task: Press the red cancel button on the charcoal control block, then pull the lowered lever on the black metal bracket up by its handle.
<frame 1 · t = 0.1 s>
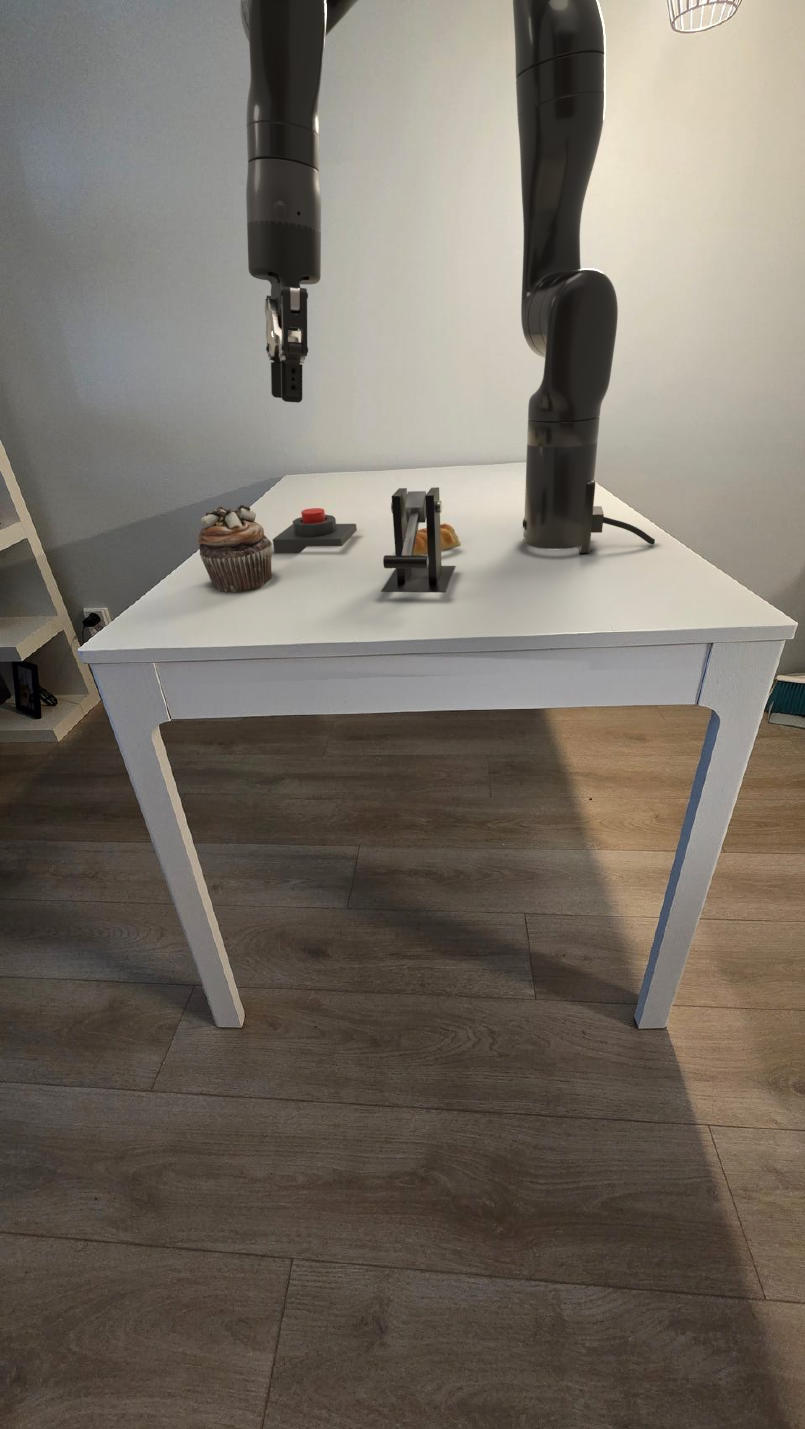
hand: (286, 399, 74), 22 cm above the table, tool pointing down, fingers open, 8 cm apart
bracket: (420, 586, 82), on the table
cancel button: (313, 516, 100), point 4 cm above the table, slide at 0.1 cm
pastry: (429, 555, 94), on the table
lever: (411, 531, 75), point 8 cm above the table, hinge at -28.0°
control block: (317, 545, 102), on the table
cupcake: (243, 584, 88), on the table
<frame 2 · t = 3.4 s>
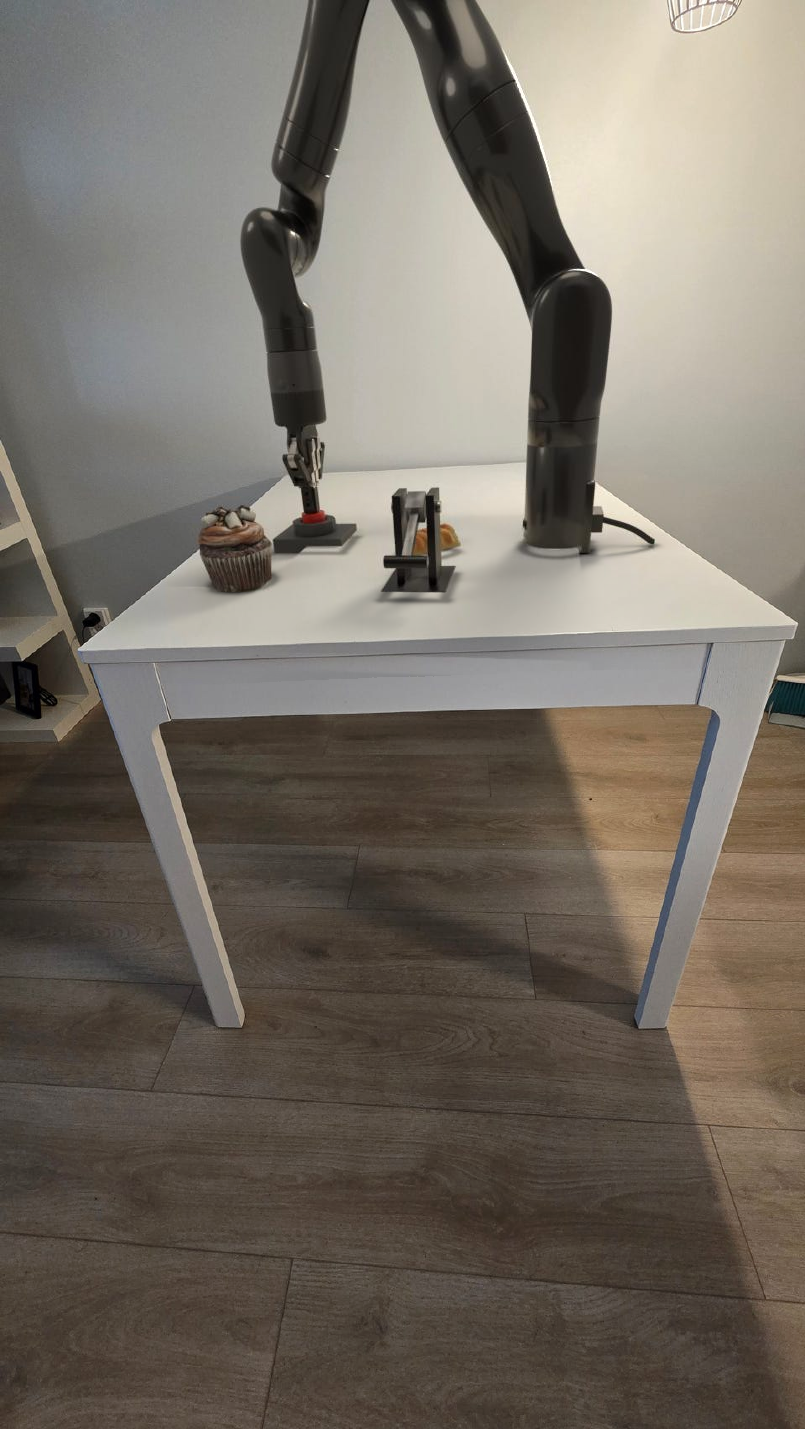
hand: (312, 512, 100), 5 cm above the table, tool pointing down, fingers closed
cancel button: (313, 518, 100), point 4 cm above the table, slide at -0.1 cm, touching gripper
everything else where it was.
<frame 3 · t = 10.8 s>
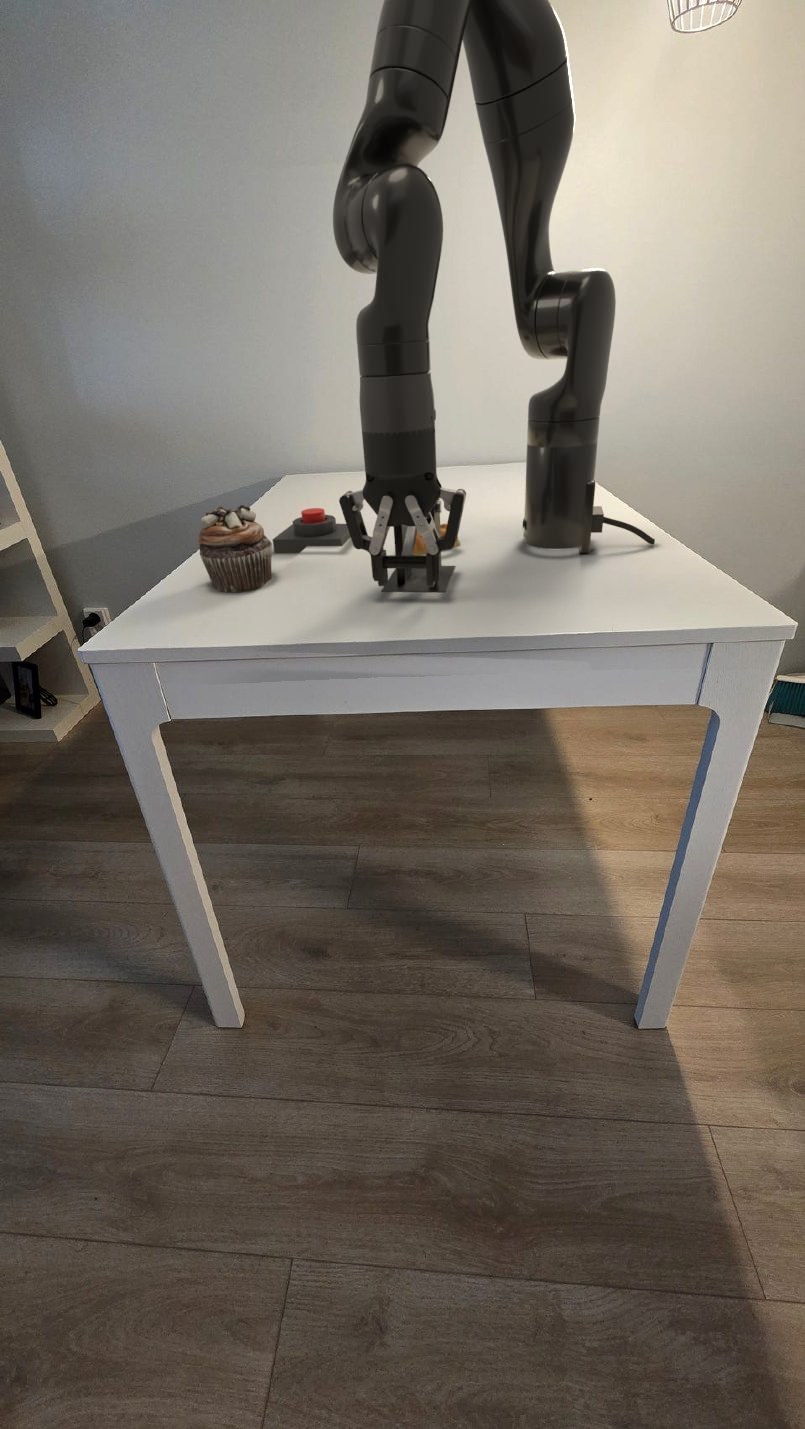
hand: (407, 583, 74), 3 cm above the table, tool pointing down, fingers closed on lever, 5 cm apart
cancel button: (313, 516, 100), point 4 cm above the table, slide at 0.1 cm
lever: (411, 531, 75), point 8 cm above the table, hinge at -28.1°, touching gripper
everything else where it was.
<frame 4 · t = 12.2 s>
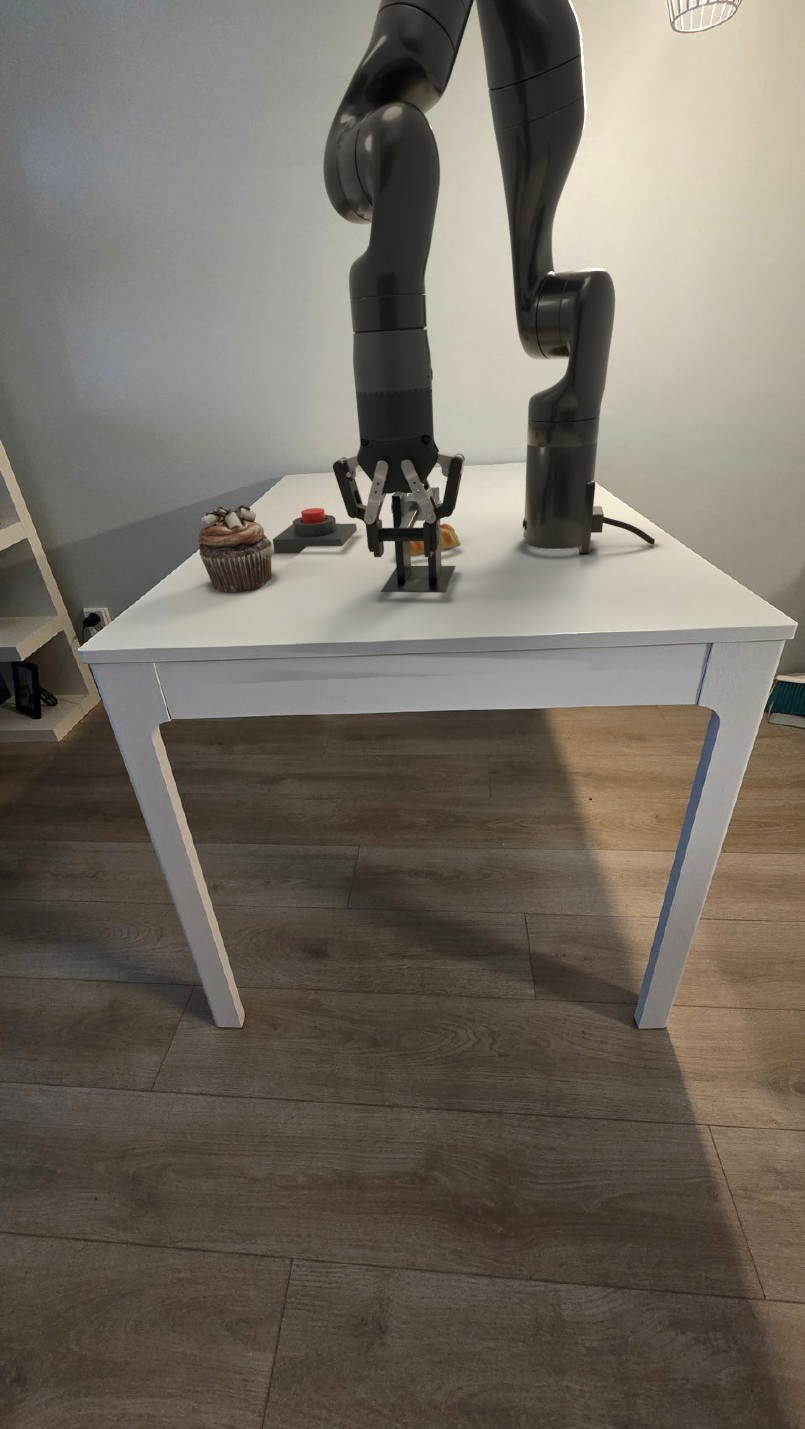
hand: (404, 554, 71), 7 cm above the table, tool pointing down, fingers closed on lever, 5 cm apart
lever: (410, 519, 74), point 10 cm above the table, hinge at -5.4°, touching gripper
everything else where it was.
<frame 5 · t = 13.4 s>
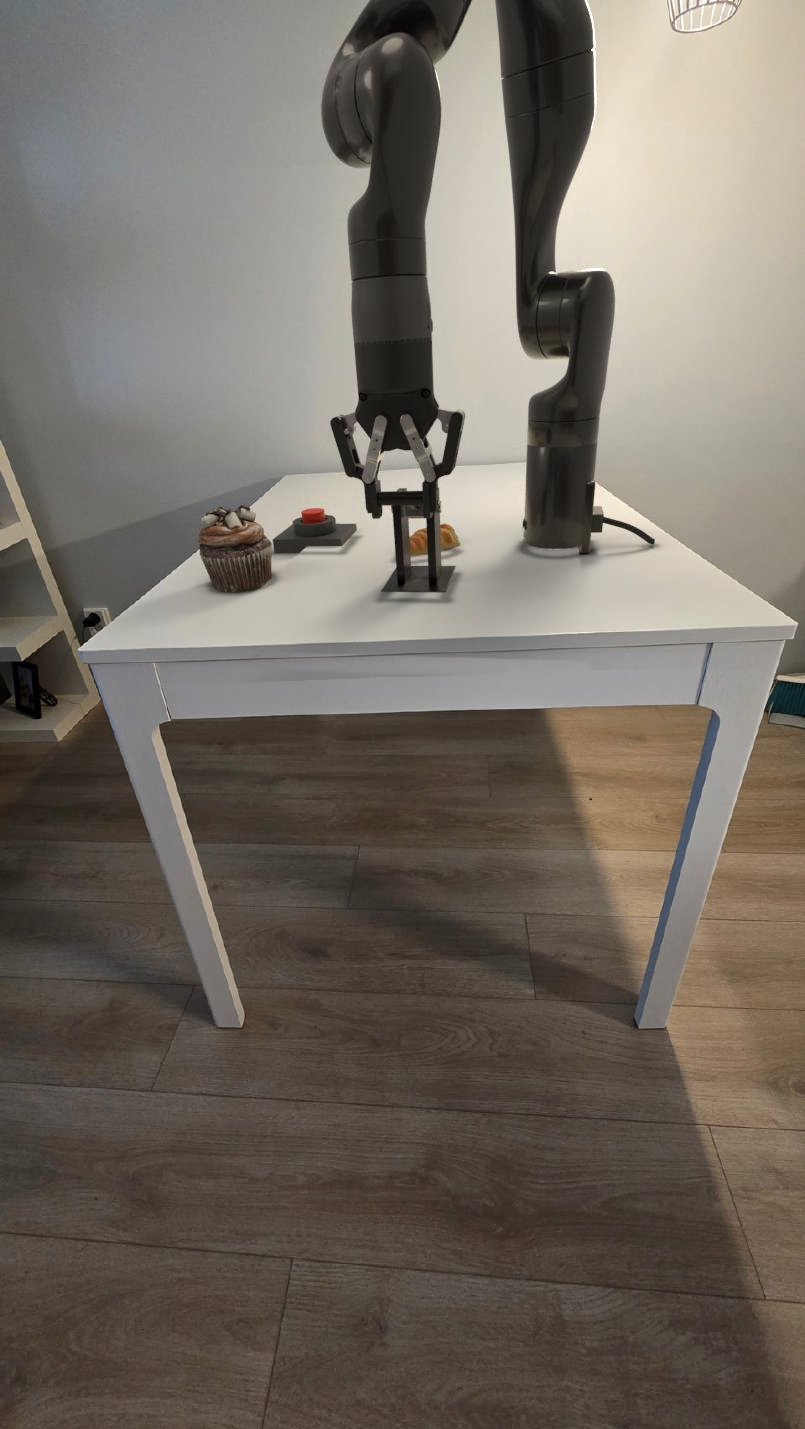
hand: (403, 516, 70), 11 cm above the table, tool pointing down, fingers closed on lever, 5 cm apart
lever: (409, 503, 73), point 11 cm above the table, hinge at 18.8°, touching gripper
everything else where it was.
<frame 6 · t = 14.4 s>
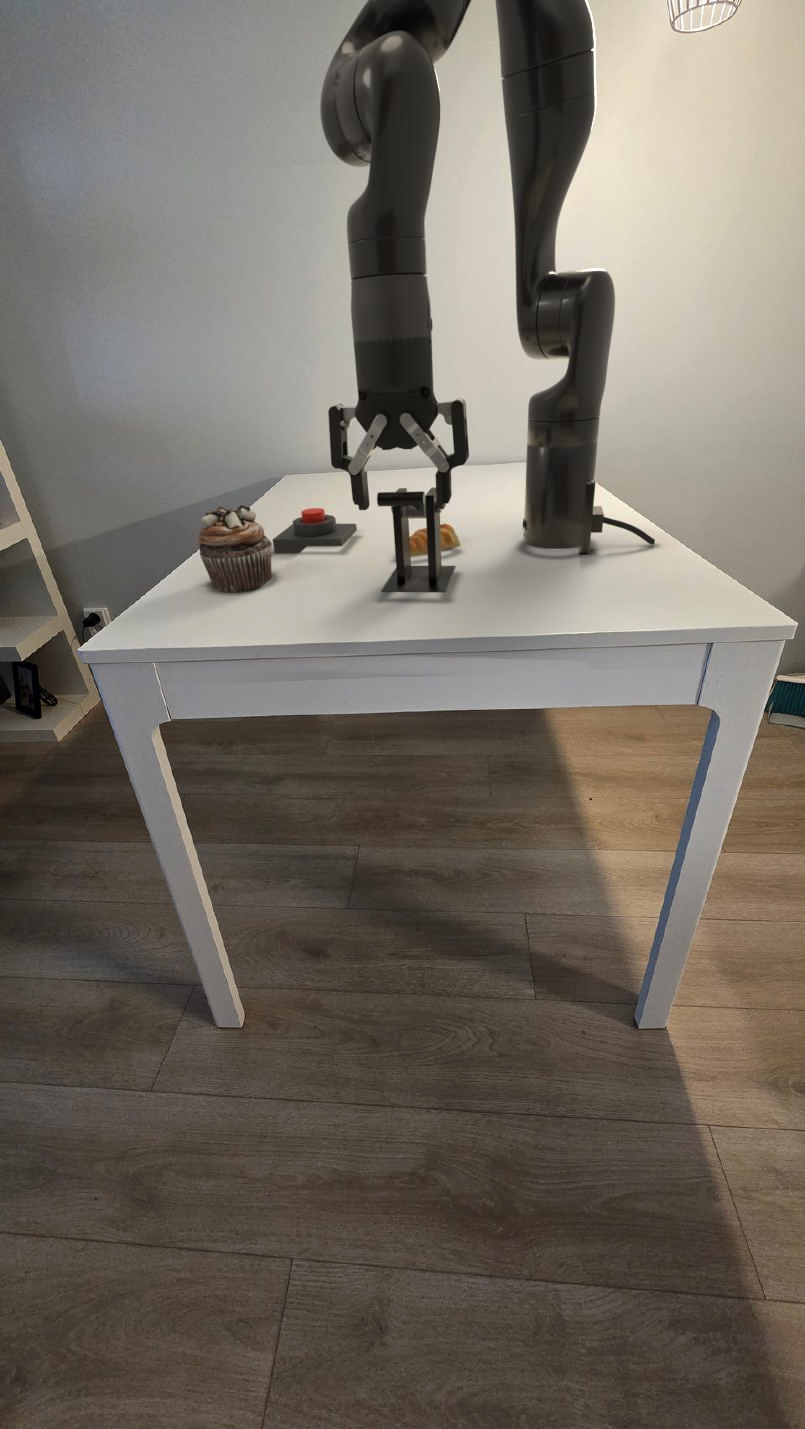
hand: (402, 508, 70), 12 cm above the table, tool pointing down, fingers open, 8 cm apart
lever: (409, 503, 73), point 11 cm above the table, hinge at 18.3°
everything else where it was.
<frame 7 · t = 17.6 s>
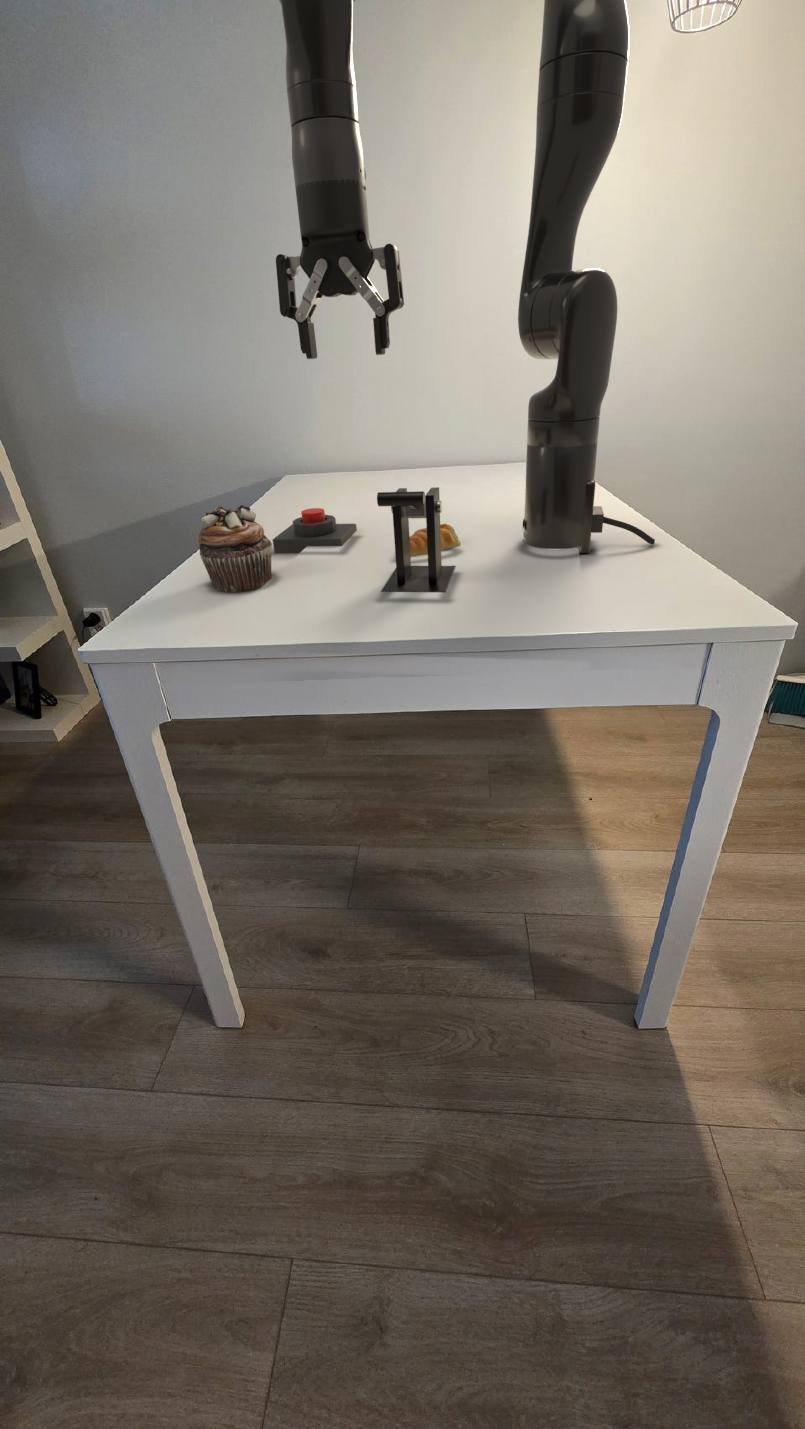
hand: (346, 356, 77), 26 cm above the table, tool pointing down, fingers open, 8 cm apart
nothing on the table moved.
at the end: cancel button pushed in 1.1 cm at the most during the clip, back to where it started at the end; cancel button slide at 0.1 cm; lever at +18° (first picture: -28°) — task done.
